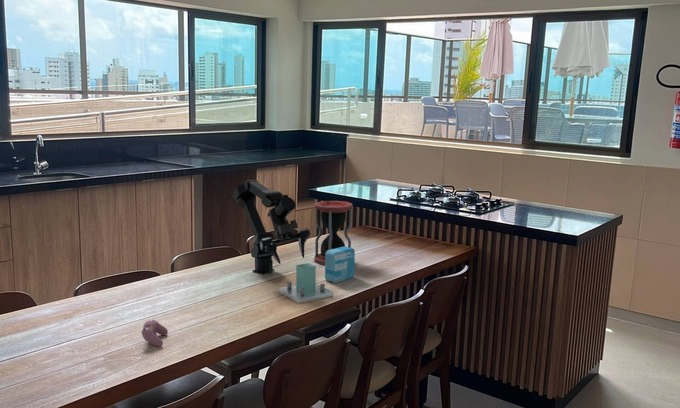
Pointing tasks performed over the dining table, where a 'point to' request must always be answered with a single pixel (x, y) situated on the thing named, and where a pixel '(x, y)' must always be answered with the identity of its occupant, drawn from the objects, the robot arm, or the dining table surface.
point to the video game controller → (153, 332)
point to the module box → (306, 277)
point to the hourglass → (331, 226)
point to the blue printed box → (339, 264)
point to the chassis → (304, 297)
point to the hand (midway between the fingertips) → (291, 260)
